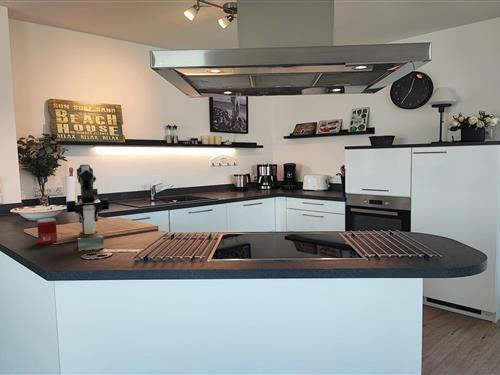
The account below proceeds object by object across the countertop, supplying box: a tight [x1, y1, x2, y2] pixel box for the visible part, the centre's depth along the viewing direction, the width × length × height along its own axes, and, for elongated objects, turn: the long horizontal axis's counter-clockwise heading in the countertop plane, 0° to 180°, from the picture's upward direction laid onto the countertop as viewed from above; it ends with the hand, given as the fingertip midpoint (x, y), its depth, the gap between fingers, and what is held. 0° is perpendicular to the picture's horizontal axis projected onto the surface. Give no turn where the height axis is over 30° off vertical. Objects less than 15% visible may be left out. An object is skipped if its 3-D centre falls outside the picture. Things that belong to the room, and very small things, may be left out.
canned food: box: [36, 217, 58, 245], centre depth 181 cm, size 8×8×11 cm
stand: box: [77, 235, 105, 252], centre depth 171 cm, size 11×10×5 cm
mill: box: [83, 205, 96, 235], centre depth 175 cm, size 5×5×13 cm
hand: (89, 219), depth 174 cm, fingers closed on mill, 5 cm apart
